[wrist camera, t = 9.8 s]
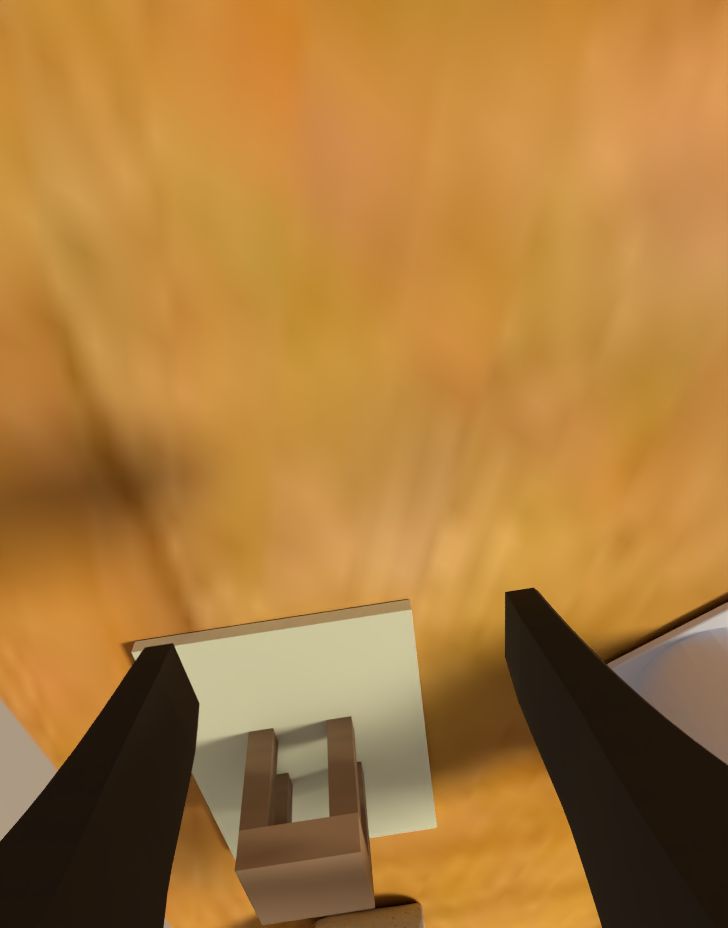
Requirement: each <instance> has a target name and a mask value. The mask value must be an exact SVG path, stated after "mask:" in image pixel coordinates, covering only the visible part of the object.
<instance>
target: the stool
mask: <svg viewBox="0 0 728 928" xmlns="http://www.w3.org/2000/svg"><path fill="white" fill-rule="evenodd" d="M327 750H328V785H329V817H325V818H319V819H312V820H306V821H299V822H293V823H292V794H293V785H292V782H291V779H290V776H289V773H282V774H277V758H278V740H277V737H276V735H275V732H274V729H273V728H270V729H263V730H257V731H250V732H249V733H248V743H247V754H246V764H245V774H244V784H243V794H242V804H241V814H240V825H239V835H238V845H237V855H236V865H235V872H236V874H237V876H238V878H239V880H240V882H241V884H242V886H243V888H244V890H245V892H246V894H247V896H248V898H249V900H250V902H251V904H252V906H253V908H254V910H255V912H256V914H257V916H258V918H259V920H260V922H261V924H262V925H269V924H275V923H282V922H288V921H295V920H301V919H308V918H314V917H321V916H327V915H334V914H340V913H347V912H353V911H360V910H366V909H372V908H375V901H374V889H373V877H372V865H371V853H370V841H369V829H368V818H367V806H366V794H365V782H364V773H363V768H362V764H361V762H357V759H356V745H355V732H354V727H353V722H352V718H351V716H349V717H342V718H336V719H329V720H327Z"/></svg>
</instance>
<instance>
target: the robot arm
mask: <svg viewBox="0 0 728 928" xmlns="http://www.w3.org/2000/svg"><path fill="white" fill-rule="evenodd" d="M505 658H506V661H507V665H508V668H509V671H510V675H511V678H512V682H513V685H514V688H515V692H516V695H517V698H518V701H519V704H520V706H521V709H522V711H523V714H524V716H525V719H526V721H527V723H528V726H529V728H530V731H531V733H532V735H533V738H534V740H535V743H536V745H537V747H538V750H539V752H540V754H541V757H542V759H543V762H544V764H545V766H546V769H547V771H548V773H549V776H550V778H551V780H552V783H553V785H554V788H555V790H556V792H557V795H558V797H559V799H560V802H561V804H562V807H563V809H564V812H565V815H566V817H567V820H568V823H569V825H570V828H571V831H572V834H573V837H574V840H575V843H576V846H577V849H578V852H579V855H580V858H581V861H582V864H583V868H584V871H585V874H586V877H587V880H588V883H589V886H590V889H591V893H592V896H593V899H594V902H595V905H596V909H597V912H598V915H599V918H600V922H601V925H602V928H728V602H727V603H725V604H723V605H721V606H719V607H717V608H715V609H713V610H711V611H709V612H707V613H705V614H703V615H701V616H699V617H697V618H695V619H693V620H692V621H690V622H688V623H686V624H684V625H682V626H680V627H678V628H676V629H674V630H672V631H670V632H668V633H666V634H664V635H662V636H660V637H658V638H656V639H655V640H653V641H651V642H649V643H647V644H645V645H643V646H641V647H639V648H637V649H635V650H633V651H631V652H629V653H627V654H625V655H623V656H621V657H620V658H618V659H616V660H614V661H612V662H610V663H608V664H606V663H605V662H604V661H603V660H602V659H601V658H600V657H599V656H598V655H597V654H596V653H595V652H594V651H593V650H592V649H591V648H590V647H589V646H588V645H587V644H586V643H585V642H584V641H583V640H582V639H581V638H580V637H579V636H578V635H577V634H576V633H575V632H574V631H573V630H572V629H571V628H570V627H569V625H568V624H567V623H566V622H565V621H564V620H563V619H562V618H561V617H560V616H559V615H558V613H557V612H556V611H555V610H554V609H553V608H552V607H551V605H550V604H549V603H548V602H547V601H546V600H545V599H544V597H543V596H542V595H541V594H540V593H539V591H537V590H536V589H534V588H529V589H522V590H516V591H509V592H505ZM199 704H200V703H199V701H198V699H197V696H196V694H195V692H194V690H193V687H192V685H191V683H190V680H189V678H188V676H187V674H186V671H185V669H184V667H183V664H182V662H181V660H180V658H179V655H178V653H177V651H176V649H175V646H174V644H173V643H170V644H163V645H157V646H150V647H145V648H144V649H143V651H142V652H141V653H140V655H139V656H138V658H137V659H136V661H135V662H134V664H133V665H132V667H131V668H130V670H129V671H128V673H127V674H126V676H125V677H124V679H123V680H122V682H121V683H120V685H119V686H118V688H117V689H116V691H115V692H114V694H113V695H112V696H111V698H110V699H109V701H108V702H107V704H106V705H105V707H104V708H103V710H102V711H101V713H100V714H99V715H98V717H97V718H96V720H95V721H94V723H93V724H92V725H91V727H90V728H89V730H88V731H87V732H86V734H85V735H84V737H83V738H82V740H81V741H80V742H79V744H78V745H77V746H76V748H75V749H74V751H73V752H72V753H71V755H70V756H69V757H68V759H67V760H66V761H65V762H64V764H63V765H62V766H61V768H60V769H59V770H58V772H57V773H56V774H55V776H54V777H53V778H52V780H51V781H50V782H49V784H48V785H47V786H46V788H45V789H44V790H43V791H42V792H41V794H40V795H39V796H38V797H37V799H36V800H35V801H34V802H33V803H32V805H31V806H30V807H29V808H28V810H27V811H26V812H25V813H24V814H23V816H22V817H21V818H20V819H19V821H18V822H17V823H16V824H15V825H14V826H13V827H12V829H11V830H10V831H9V832H8V833H7V834H6V835H5V837H4V838H3V839H2V840H1V841H0V928H163V926H164V918H165V909H166V901H167V893H168V887H169V881H170V875H171V869H172V864H173V859H174V854H175V849H176V844H177V840H178V835H179V830H180V825H181V821H182V816H183V811H184V806H185V801H186V797H187V792H188V787H189V782H190V777H191V772H192V767H193V762H194V757H195V751H196V741H197V731H198V718H199Z"/></svg>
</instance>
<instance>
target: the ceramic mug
mask: <svg viewBox="0 0 728 928" xmlns="http://www.w3.org/2000/svg"><path fill="white" fill-rule="evenodd" d="M310 928H424V917H423V909H422V905H421V904H419V903H414V904H407V905H400V906H392V907H384V908H378V909H371V910H366V911H361V912H351V913H342V914H335V915H330V916H328V917H325V918H322V919H320V920H317V921H315V922H314V923H313V924H312V925H311V926H310Z"/></svg>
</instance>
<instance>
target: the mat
mask: <svg viewBox="0 0 728 928" xmlns="http://www.w3.org/2000/svg"><path fill="white" fill-rule="evenodd" d="M170 643H173V644H174V646H175V649H176V651H177V653H178V655H179V658H180V660H181V662H182V664H183V667H184V669H185V671H186V674H187V676H188V678H189V680H190V683H191V685H192V687H193V690H194V692H195V694H196V696H197V699H198V701H199V703H200V704H199V718H198V731H197V741H196V751H195V757H194V762H193V767H192V772H191V773H192V775H193V777H194V779H195V781H196V783H197V785H198V787H199V789H200V791H201V793H202V795H203V797H204V799H205V801H206V803H207V805H208V807H209V809H210V811H211V813H212V815H213V817H214V819H215V821H216V823H217V825H218V827H219V829H220V830H221V832H222V834H223V836H224V838H225V840H226V842H227V844H228V846H229V848H230V850H231V852H232V854H233V856H234V858H235V859H236V855H237V845H238V835H239V825H240V814H241V804H242V794H243V784H244V774H245V764H246V754H247V743H248V733H249V732H250V731H257V730H263V729H270V728H273V729H274V732H275V735H276V737H277V740H278V758H277V774H282V773H289V776H290V779H291V782H292V785H293V794H292V823H293V822H299V821H306V820H312V819H319V818H325V817H329V785H328V750H327V720H329V719H336V718H342V717H349V716H351V718H352V722H353V727H354V732H355V745H356V759H357V762H361V764H362V768H363V773H364V782H365V794H366V806H367V818H368V829H369V838H374V837H381V836H387V835H393V834H400V833H406V832H413V831H419V830H426V829H432V828H437V825H436V816H435V808H434V799H433V790H432V782H431V773H430V765H429V756H428V747H427V739H426V730H425V722H424V713H423V704H422V696H421V687H420V679H419V670H418V661H417V653H416V644H415V636H414V627H413V618H412V610H411V605H410V600H402V601H396V602H389V603H383V604H376V605H370V606H363V607H357V608H350V609H344V610H337V611H331V612H324V613H318V614H311V615H305V616H298V617H291V618H285V619H278V620H272V621H265V622H259V623H252V624H246V625H239V626H233V627H226V628H220V629H213V630H207V631H200V632H194V633H187V634H181V635H174V636H168V637H161V638H154V639H148V640H141V641H135V643H134V646H133V649H132V652H131V653H132V655H133V657H134V659H135V661H136V659H137V658H138V656H139V655H140V653H141V652H142V651H143V649H144V648H145V647H150V646H157V645H163V644H170Z"/></svg>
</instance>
